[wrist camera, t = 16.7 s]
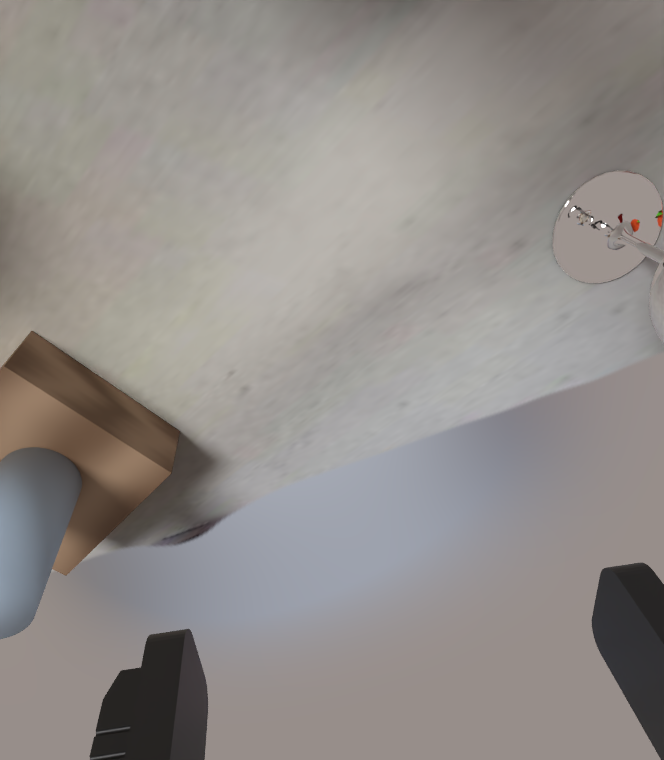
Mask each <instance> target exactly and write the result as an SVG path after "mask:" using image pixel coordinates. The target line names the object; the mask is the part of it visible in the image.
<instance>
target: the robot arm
mask: <svg viewBox="0 0 664 760" xmlns="http://www.w3.org/2000/svg"><path fill="white" fill-rule="evenodd" d="M592 629H593V634H594V638H595V642H596V644H597V647H598V649H599V651H600V653H601V655H602V657H603V658H604V660H605V662H606V664H607V666H608V667H609V669H610V671H611V672H612V674H613V676H614V678H615V680H616V681H617V683H618V685H619V687H620V688H621V690H622V691H623V694H624V695H625V697H626V699H627V701H628V702H629V704H630V706H631V708H632V709H633V711H634V713H635V715H636V716H637V718H638V720H639V722H640V723H641V725H642V727H643V729H644V731H645V732H646V734H647V736H648V737H649V739H650V741H651V743H652V745H653V746H654V748H655V750H656V752H657V753H658V755H659V757H660V758H661V760H664V584H663V583H662V582H661V580H660V579H659V578H658V577H657V575H656V574H655V572H654V571H653V570H652V569H651V568H650V567H649V566H648V565H646V564H644V563H635V564H629V565H622V566H615V567H608V568H604V569H603V570H602V572H601V575H600V579H599V584H598V590H597V595H596V600H595V605H594V611H593V616H592ZM207 695H208V694H207V685H206V679H205V675H204V672H203V669H202V665H201V662H200V658H199V655H198V652H197V649H196V645H195V642H194V639H193V635H192V632H191V631H190V629H185V630H179V631H172V632H166V633H159V634H152V635H149V637H148V638H147V641H146V645H145V650H144V655H143V661H142V666H141V668H135V669H128V670H122V671H120V673H119V675H118V676H117V678H116V679H115V681H114V683H113V684H112V686H111V687H110V689H109V691H108V692H107V694H106V695H105V697H104V699H103V702H102V706H101V711H100V715H99V719H98V723H97V728H96V737H94V741H93V745H92V749H91V753H90V760H204V759H205V745H206V731H207V715H208V696H207Z"/></svg>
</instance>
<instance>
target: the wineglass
mask: <svg viewBox="0 0 664 760" xmlns="http://www.w3.org/2000/svg"><path fill="white" fill-rule="evenodd" d="M662 221H663V203H662V200H661V197H660V194H659V192H658V190H657V189H656V187H655V185H654V184H653V183H652V182H651V181H650V180H649V179H648V178H646V177H644V176H643V175H641V174H639V173H636V172H632V171H628V170H616V171H610V172H605V173H603V174H600V175H598V176H595V177H593V178H592V179H590V180H588V181H587V182H585V183H583V184H582V185H581V186H580V187H579V188H578V189H576V190H575V191H574V192H573V193H572V195H571V196H570V197H569V198H568V199H567V200H566V202H565V203H564V205H563V207H562V208H561V210H560V211H559V214H558V216H557V219H556V221H555V225H554V229H553V234H552V247H553V253H554V256H555V259H556V261H557V263H558V265H559V266H560V268H561V269H562V270H563V272H565V273H566V274H567V275H568V276H570V277H571V278H573V279H575V280H577V281H580V282H585V283H603V282H609V281H612V280H614V279H617V278H620V277H621V276H623V275H625V274H627V273H628V272H630V271H631V270H632V269H634V268H635V267H636V266H638V265H639V264H640V263H641V262H642V261H643V259H644V258H645V257H648V258H650V259H652V260H654V261H655V262H657V263H659V266H658V268H657V270H656V272H655V274H654V277H653V280H652V283H651V288H650V297H649V311H650V318H651V321H652V323H653V326H654V328H655V331H656V333H657V335H658V337H659V338H660V340H661V341H662V343H663V344H664V251H663V250H661V249H659V248H657V247H655V246H654V244H655V242H656V240H657V238H658V236H659V233H660V230H661V227H662Z"/></svg>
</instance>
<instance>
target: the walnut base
mask: <svg viewBox="0 0 664 760" xmlns="http://www.w3.org/2000/svg"><path fill="white" fill-rule="evenodd" d="M179 433H180V431H179V430H177V429H176V428H174V427H173V426H171V425H170V424H168V423H167V422H165V421H164V420H162V419H161V418H160V417H158V416H157V415H155V414H154V413H152V412H151V411H149V410H148V409H146V408H145V407H143V406H142V405H140V404H139V403H137V402H136V401H135V400H133V399H132V398H130V397H129V396H127V395H126V394H124V393H123V392H121V391H120V390H118V389H117V388H115V387H114V386H112V385H111V384H109V383H108V382H107V381H105V380H104V379H102V378H101V377H99V376H98V375H96V374H95V373H93V372H92V371H90V370H89V369H87V368H86V367H84V366H83V365H81V364H80V363H79V362H77V361H76V360H74V359H73V358H71V357H70V356H68V355H67V354H65V353H64V352H62V351H61V350H59V349H58V348H56V347H55V346H54V345H52V344H51V343H49V342H48V341H46V340H45V339H43V338H42V337H40V336H39V335H37V334H36V333H34V332H33V331H31V332H30V334H29V335H28V336H27V337H26V338H25V340H24V341H23V342H22V343H21V344H20V345H19V347H18V348H17V349H16V350H15V351H14V353H13V354H12V355H11V356H10V357H9V359H8V360H7V361H6V362H5V363H4V365H3V366H2V367H1V368H0V461H1V460H2V459H3V458H4V457H5V456H6V455H8V454H9V453H11V452H13V451H16V450H18V449H22V448H29V447H38V448H45V449H49V450H53V451H55V452H58V453H60V454H62V455H64V456H65V457H66V458H68V459H69V460H70V461H71V462H73V464H74V465H75V466H76V467H77V469H78V470H79V472H80V475H81V478H82V488H81V491H80V494H79V497H78V499H77V502H76V505H75V508H74V510H73V513H72V516H71V519H70V521H69V524H68V527H67V529H66V532H65V535H64V538H63V540H62V543H61V546H60V548H59V551H58V554H57V557H56V559H55V562H54V565H53V567H52V569H54V570H56V571H58V572H60V573H62V574H64V575H67V574H68V573H69V572H70V571H71V570H72V569H73V568H74V567H75V566H77V565H78V564H79V563H80V562H81V561H82V560H83V559H84V558H85V557H86V556H87V555H88V554H89V553H90V552H91V551H92V550H93V549H94V548H95V547H96V546H97V545H98V544H99V543H100V542H101V541H102V540H103V539H104V538H105V537H106V536H107V535H108V534H109V533H110V532H112V531H113V530H114V529H115V528H116V527H117V526H118V525H119V524H120V523H121V522H122V521H123V520H124V519H125V518H126V517H127V516H128V515H129V514H130V513H131V512H132V511H133V510H134V509H135V508H136V507H137V506H138V505H139V504H140V503H141V502H142V501H143V500H144V499H146V498H147V497H148V496H149V495H150V494H151V493H152V492H153V491H154V490H155V489H156V488H157V487H158V486H159V485H160V484H161V483H162V482H163V481H164V480H165V479H166V478H167V477H168V476H169V475H170V474H171V473H172V469H173V463H174V458H175V453H176V448H177V443H178V438H179Z"/></svg>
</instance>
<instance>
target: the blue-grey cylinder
mask: <svg viewBox="0 0 664 760" xmlns="http://www.w3.org/2000/svg"><path fill="white" fill-rule="evenodd" d="M81 488H82V478H81V475H80V472H79V470H78V469H77V467H76V466H75V465H74V464H73V462H71V461H70V460H69V459H68V458H66V457H65V456H64V455H62V454H60V453H58V452H55V451H53V450H49V449H45V448H38V447H29V448H22V449H18V450H16V451H13V452H11V453H9V454H8V455H6V456H5V457H4V458H3V459H2V460H1V461H0V639H3V638H7V637H10V636H13V635H15V634H17V633H19V632H21V631H23V630H24V629H25V628H26V627H28V625H30V623H31V622H32V620H33V619H34V616H35V614H36V611H37V608H38V606H39V603H40V600H41V597H42V595H43V592H44V589H45V586H46V584H47V581H48V578H49V576H50V573H51V570H52V567H53V565H54V562H55V559H56V557H57V554H58V551H59V548H60V546H61V543H62V540H63V538H64V535H65V532H66V529H67V527H68V524H69V521H70V519H71V516H72V513H73V510H74V508H75V505H76V502H77V499H78V497H79V494H80V491H81Z"/></svg>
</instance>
